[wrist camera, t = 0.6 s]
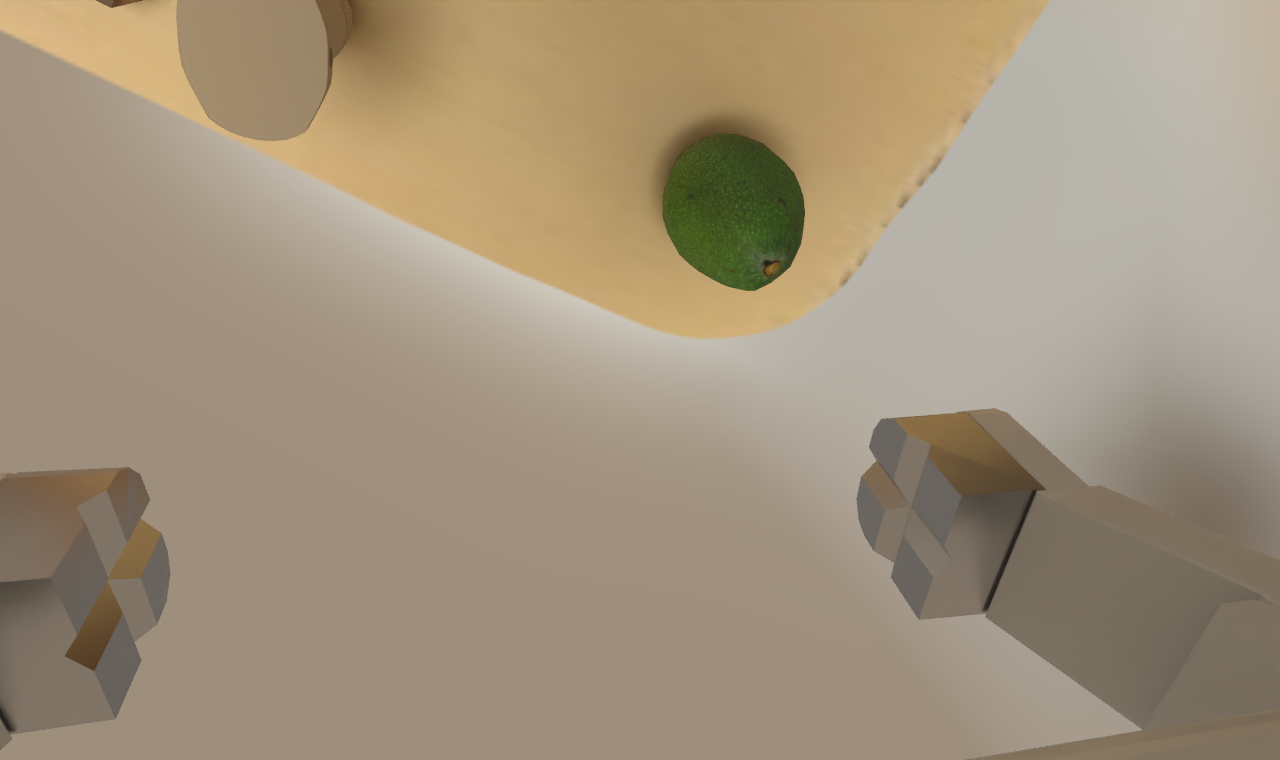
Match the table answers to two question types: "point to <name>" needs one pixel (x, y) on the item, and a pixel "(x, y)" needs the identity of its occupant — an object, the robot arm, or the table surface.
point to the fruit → (734, 211)
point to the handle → (261, 60)
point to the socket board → (116, 2)
